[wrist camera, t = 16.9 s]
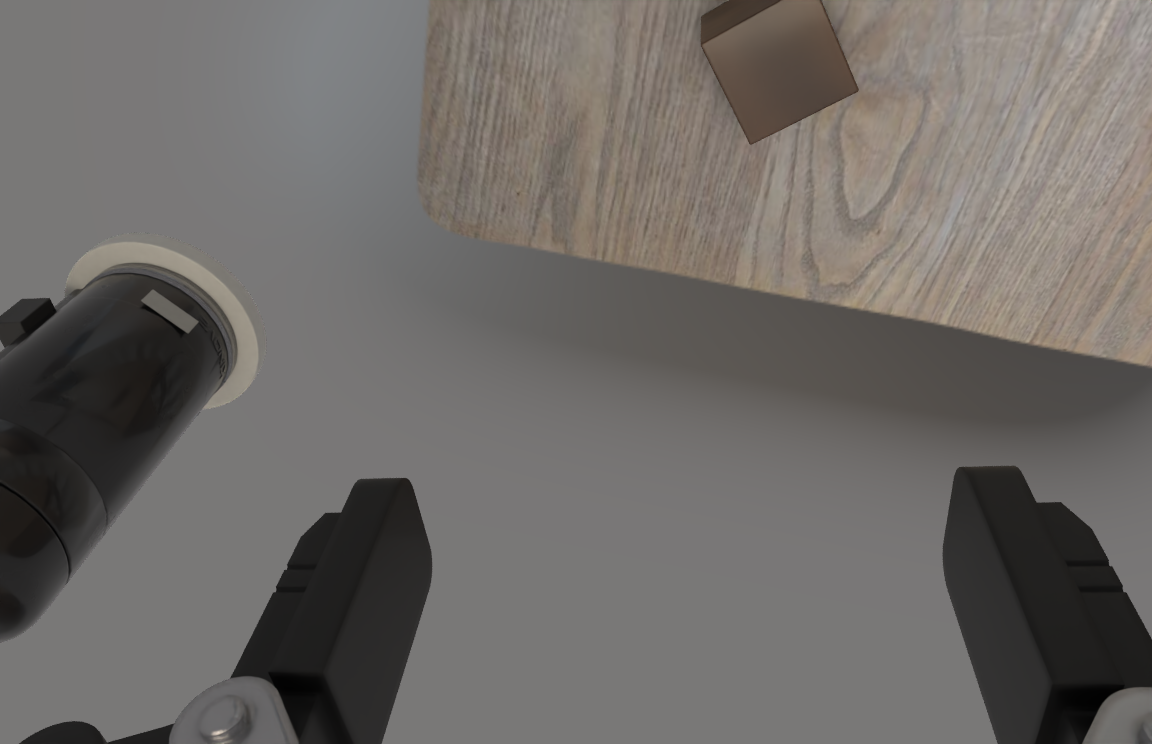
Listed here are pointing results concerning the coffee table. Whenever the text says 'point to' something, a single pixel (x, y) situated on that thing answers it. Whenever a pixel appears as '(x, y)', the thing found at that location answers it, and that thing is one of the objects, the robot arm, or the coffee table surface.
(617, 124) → the coffee table surface
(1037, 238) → the coffee table surface
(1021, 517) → the robot arm
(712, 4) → the coffee table surface
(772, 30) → the walnut block
